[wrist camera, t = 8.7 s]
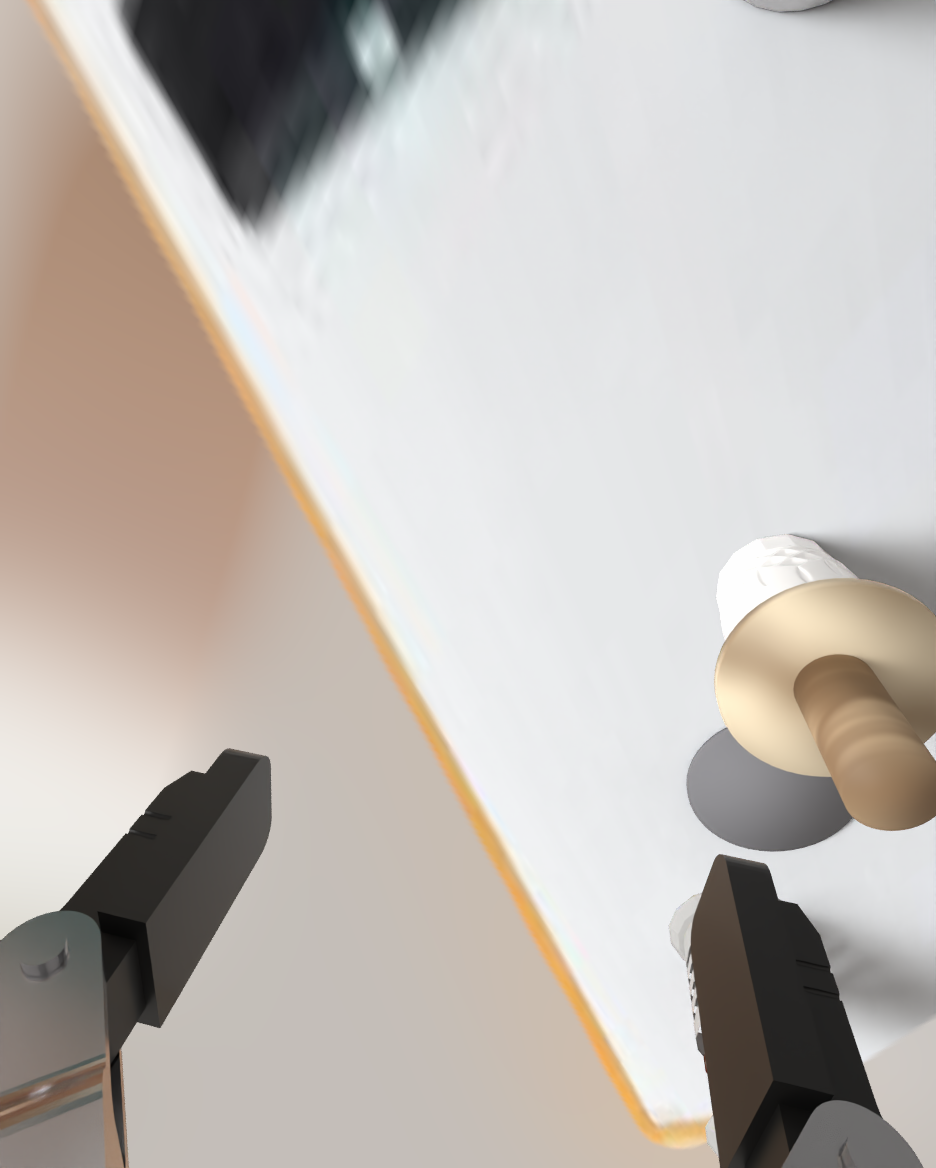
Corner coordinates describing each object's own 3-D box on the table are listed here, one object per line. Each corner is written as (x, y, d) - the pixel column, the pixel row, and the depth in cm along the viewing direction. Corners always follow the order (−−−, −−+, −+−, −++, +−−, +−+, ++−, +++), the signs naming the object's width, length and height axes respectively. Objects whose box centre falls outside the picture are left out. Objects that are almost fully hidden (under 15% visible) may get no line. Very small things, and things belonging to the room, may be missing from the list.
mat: (711, 700, 44) (712, 704, 44) (889, 735, 43) (891, 739, 42) (669, 827, 49) (669, 831, 48) (828, 861, 47) (830, 866, 47)
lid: (748, 560, 30) (794, 647, 23) (992, 600, 29) (1120, 705, 22) (690, 743, 34) (715, 864, 27) (901, 784, 33) (983, 922, 26)
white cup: (879, 582, 39) (964, 673, 30) (771, 668, 42) (818, 774, 33) (780, 496, 38) (836, 563, 29) (677, 591, 41) (699, 678, 32)
